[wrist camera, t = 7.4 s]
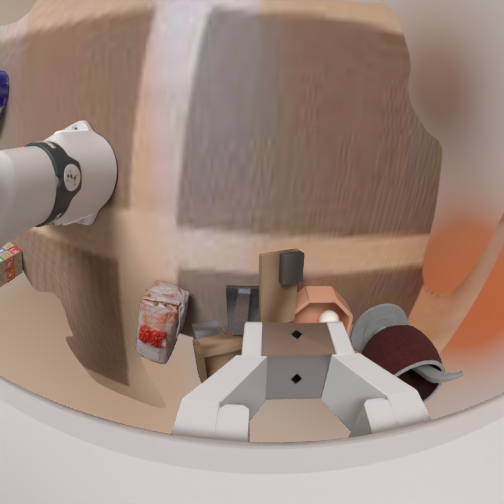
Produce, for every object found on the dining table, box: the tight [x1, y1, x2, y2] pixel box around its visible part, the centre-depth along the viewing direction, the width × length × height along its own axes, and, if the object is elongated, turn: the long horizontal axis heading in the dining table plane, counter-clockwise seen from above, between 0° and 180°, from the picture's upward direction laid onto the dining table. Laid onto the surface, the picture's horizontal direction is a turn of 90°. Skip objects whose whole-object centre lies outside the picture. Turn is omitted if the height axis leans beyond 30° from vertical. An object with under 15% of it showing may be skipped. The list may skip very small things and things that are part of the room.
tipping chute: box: [192, 249, 304, 383], centre depth 39 cm, size 15×18×8 cm
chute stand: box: [226, 285, 259, 335], centre depth 44 cm, size 6×11×11 cm, turn 0°
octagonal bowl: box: [286, 286, 353, 337], centre depth 46 cm, size 11×11×4 cm
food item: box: [135, 280, 189, 364], centre depth 45 cm, size 14×8×10 cm, turn 163°
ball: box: [319, 310, 339, 323], centre depth 46 cm, size 4×4×4 cm
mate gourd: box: [350, 304, 463, 403], centre depth 40 cm, size 16×14×20 cm
